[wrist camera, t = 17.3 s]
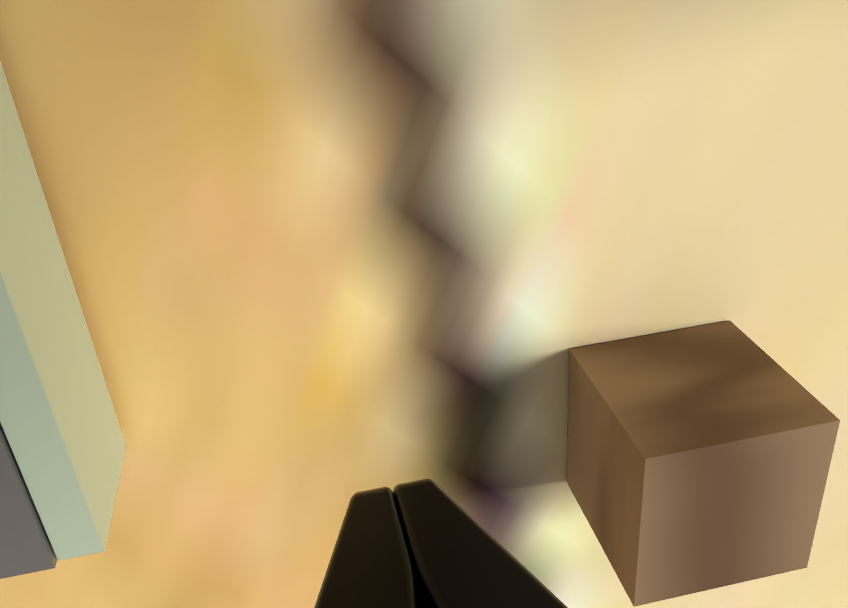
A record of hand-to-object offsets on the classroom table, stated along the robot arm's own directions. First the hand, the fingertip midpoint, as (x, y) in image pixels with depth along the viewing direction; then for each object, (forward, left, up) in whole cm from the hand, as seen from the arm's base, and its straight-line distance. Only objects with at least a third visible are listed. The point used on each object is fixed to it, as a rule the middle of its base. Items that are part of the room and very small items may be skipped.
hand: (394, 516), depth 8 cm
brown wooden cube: (-9, +9, -12) cm, 17 cm away
